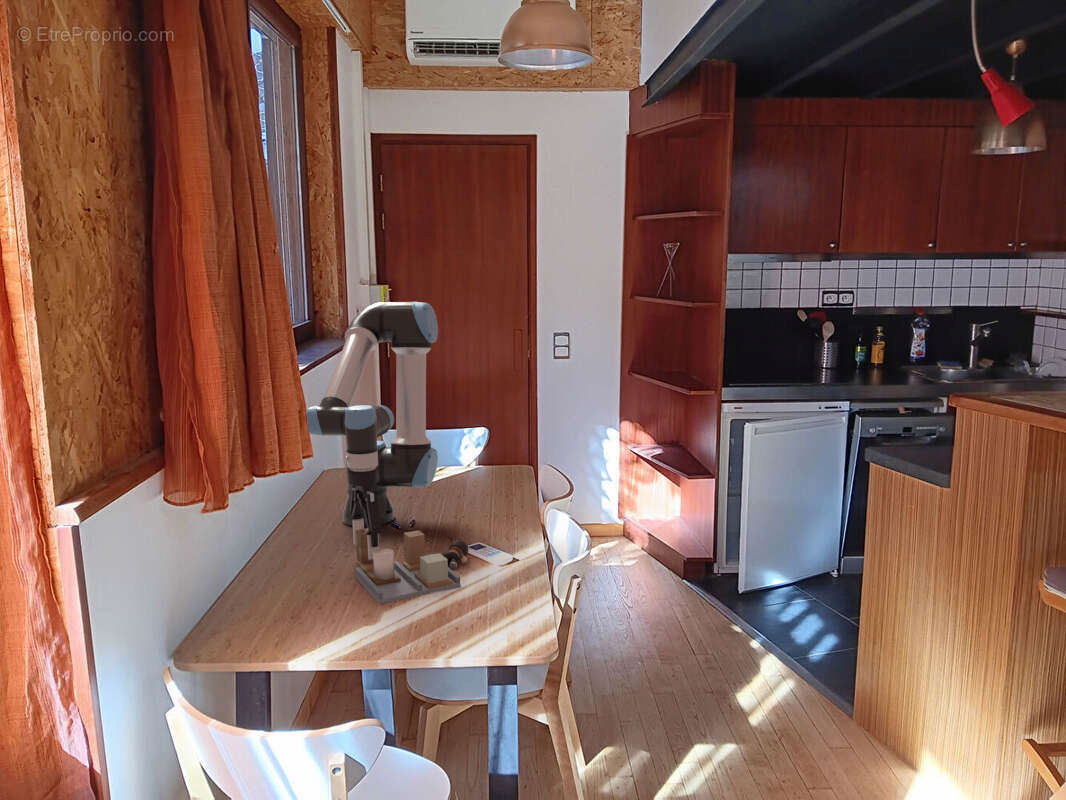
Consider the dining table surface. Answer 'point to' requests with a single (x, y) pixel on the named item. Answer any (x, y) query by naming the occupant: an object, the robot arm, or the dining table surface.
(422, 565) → the sage block
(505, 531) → the dining table surface
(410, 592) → the lane board
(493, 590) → the dining table surface
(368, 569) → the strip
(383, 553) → the cream rounded capsule
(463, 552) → the figurine
